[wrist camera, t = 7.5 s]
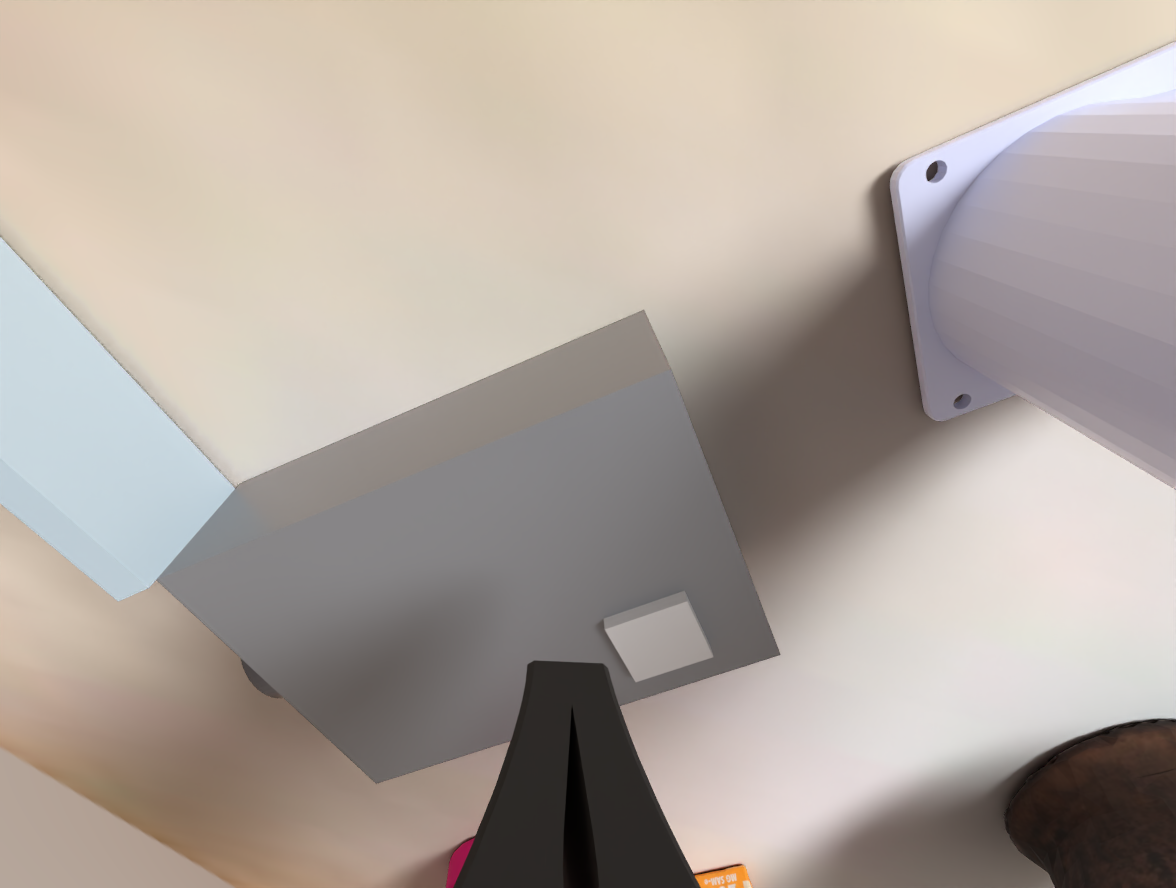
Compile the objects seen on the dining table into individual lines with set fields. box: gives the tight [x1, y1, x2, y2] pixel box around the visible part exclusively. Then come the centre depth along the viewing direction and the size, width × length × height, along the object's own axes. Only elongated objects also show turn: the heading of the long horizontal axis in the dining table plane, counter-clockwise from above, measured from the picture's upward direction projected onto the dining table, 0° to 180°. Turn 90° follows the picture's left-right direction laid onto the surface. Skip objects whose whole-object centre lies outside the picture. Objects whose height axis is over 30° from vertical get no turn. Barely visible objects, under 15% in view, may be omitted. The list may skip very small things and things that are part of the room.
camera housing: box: [156, 310, 780, 784], centre depth 18 cm, size 15×10×5 cm, turn 113°
